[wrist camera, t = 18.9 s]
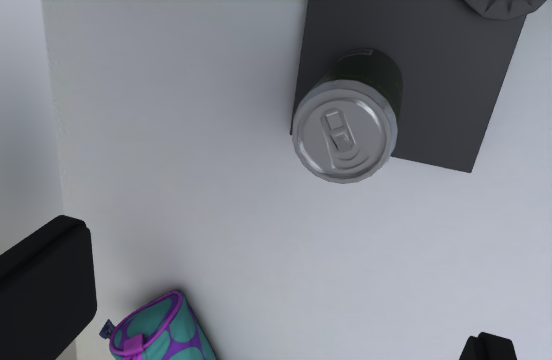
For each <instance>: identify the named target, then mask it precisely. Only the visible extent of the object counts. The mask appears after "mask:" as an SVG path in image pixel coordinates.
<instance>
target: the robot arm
mask: <svg viewBox="0 0 552 360" xmlns="http://www.w3.org/2000/svg"><path fill="white" fill-rule="evenodd" d="M96 311H97V299H96V288H95V277H94V266H93V255H92V244H91V233H90V230H89V228H87V227H86V224H85V222H84V221H82V220H79V219H76V218H72V217H69V216H65V215H60V216H58V217H56V218H54V219H53V220H51V221H50V222H48V223H47V224H45V225H44V226H42V227H41V228H39V229H38V230H37V231H35V232H34V233H32V234H31V235H29V236H28V237H26V238H25V239H23V240H22V241H20V242H19V243H18V244H16V245H15V246H13V247H12V248H10V249H9V250H7V251H6V252H4V253H3V254H1V255H0V360H55V359H56V358H57V357H58V356H59V355H60V354H61V353H62V352H63V351H64V350H65V349H66V348H67V347H68V346H69V344H70V343H71V342H72V341H73V340H74V339H75V338H76V337H77V336H78V335H79V334H80V333H81V332H82V330H83V329H84V328H85V327H86V326H87V325H88V324H89V323H90V322H91V321H92V319H93V318H94V316H95V314H96ZM459 360H517V357H516V354H515V350H514V346H513V343H512V341H511V340H510V339H506V338H503V337H499V336H496V335H492V334H488V333H485V332H481V333H480V334H479V335H478V337H474V336H470V337H469V338H468V340H467V342H466V345H465V347H464V349H463V351H462V354H461V356H460V358H459Z"/></svg>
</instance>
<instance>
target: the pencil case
mask: <svg viewBox="0 0 552 360" xmlns="http://www.w3.org/2000/svg"><path fill="white" fill-rule="evenodd" d="M99 335H100V336H101V337H102V338H105V339H107V338H109V339H110V344H109V348H110V352H111V354H112V355H113V356H114V358H115V359H116V360H216V358H215V355H214V353H213V351H212V349H211V347H210V345H209V343H208V341H207V339H206V337H205V335H204V333H203V332H202V330H201V328H200V326H199V324H198V322H197V321H196V319H195V317H194V315H193V313H192V311H191V309H190V307H189V305H188V304H187V302H186V299H185V296H184V295H183V294H182V293H181V292H179V291H173V292H169V293H167V294H166V295H164V296H162V297H160V298H158V299H156V300H154V301H152V302H150V303H148V304H146V305H144V306H142V307H141V308H139V309H137V310H136V311H134V312H133V313H131V314H130V315H129V316H127V317H126V318H125V319H123V320H122V321H121V322H120V323H119V324H118V325H117V326H116V327H115V326H114V325H113V324H112V322H111V321H110V320H109V319H108V320H107V322H106V323H105V325H104V327H103V328H102V330H101V332H100V333H99Z"/></svg>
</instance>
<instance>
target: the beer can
mask: <svg viewBox="0 0 552 360" xmlns="http://www.w3.org/2000/svg"><path fill="white" fill-rule="evenodd" d="M402 91H403V81H402V75H401V72H400V70H399V68H398V66H397V64H396V62H395V61H393V60H392V59H391V58H390V57H389V56H388V55H387V54H385V53H383V52H381V51H378V50H376V49H368V48H361V49H357V50H352V51H350V52H348V53H346V54H345V55H343V56H342V57H340V58H339V59H338V60H337V61H336V63H335V64H334V65H333V66H332V67H331V68H330V69H329V70H328V72H327V73H326V74H325V75H324V76H323V77H322V78H321V79H320V80H319V82H318V83H317V84H316V85H315V86H314V87H313V88H312V89H311V91H310V92H309V93H308V94H307V95H306V96H305V97H304V99H303V100H302V101H301V102H300V103H299V106H298V108H297V110H296V113H295V115H294V119H293V134H292V140H293V144H294V148H295V152H296V154H297V156H298V157H299V159H300V161H301V162H302V164H303V165H304V166H305V167H306V168H307V169H308V170H309V171H310V172H312V173H313V174H314V175H315V176H317V177H320V178H322V179H324V180H326V181H328V182H334V183H341V184H346V183H354V182H359V181H361V180H363V179H365V178H368V177H370V176H372V175H373V174H374V173H375V172H376V171H377V170H378V169H379V168H380V167H382V166H383V164H384V163H386V162H387V161H388V159H389V157H390V155H391V153H392V152H393V150H394V148H395V145H396V139H397V133H398V125H399V117H400V108H401V99H402Z"/></svg>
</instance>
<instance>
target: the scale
mask: <svg viewBox="0 0 552 360" xmlns="http://www.w3.org/2000/svg"><path fill="white" fill-rule="evenodd" d="M545 1H546V0H308V7H307V14H306V21H305V29H304V36H303V43H302V50H301V57H300V65H299V72H298V79H297V86H296V94H295V101H294V108H293V115H292V122H291V130H290V135H292V134H293V119H294V115H295V113H296V110H297V108H298V106H299V103H300V102H301V101H302V100H303V99H304V97H305V96H306V95H307V94H308V93H309V92H310V91H311V89H312V88H313V87H314V86H315V85H316V84H317V83H318V82H319V80H320V79H321V78H322V77H323V76H324V75H325V74H326V73H327V72H328V70H329V69H330V68H331V67H332V66H333V65H334V64H335V63H336V61H337V60H338V59H339V58H340V57H342V56H343V55H345V54H346V53H348V52H350V51H352V50H357V49H361V48H368V49H376V50H378V51H381V52H383V53H385V54H387V55H388V56H389V57H390V58H391V59H392V60H393V61H395V62H396V64H397V66H398V68H399V70H400V72H401V75H402V81H403V91H402V99H401V108H400V117H399V125H398V133H397V139H396V145H395V148H394V150H393V152H392V153H391V155H390V156H392V157H397V158H401V159H406V160H411V161H416V162H420V163H425V164H430V165H434V166H439V167H444V168H449V169H453V170H458V171H463V172H467V173H471V172H472V169H473V166H474V163H475V160H476V157H477V155H478V152H479V149H480V146H481V143H482V140H483V138H484V135H485V132H486V129H487V126H488V123H489V121H490V118H491V115H492V112H493V109H494V106H495V104H496V101H497V98H498V95H499V92H500V89H501V87H502V84H503V81H504V78H505V75H506V72H507V70H508V67H509V64H510V61H511V58H512V55H513V53H514V50H515V47H516V44H517V41H518V38H519V36H520V33H521V30H522V27H523V24H524V21H525V18H526V16H527V14H529V13H532V12H534V11H536V10H537V9H538V8H539V7H540V6H541V5H542V4H543V3H544V2H545Z"/></svg>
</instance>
